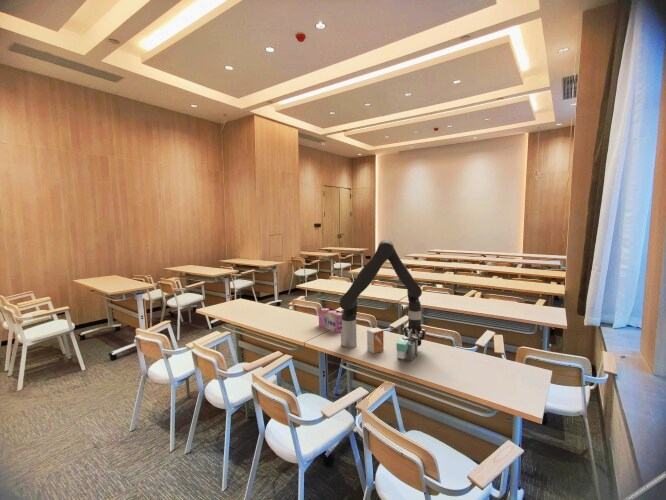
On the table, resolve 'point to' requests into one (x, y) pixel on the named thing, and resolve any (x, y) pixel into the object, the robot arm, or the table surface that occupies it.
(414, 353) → the bearing blocks
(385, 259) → the robot arm
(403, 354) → the shaft
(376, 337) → the small box
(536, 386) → the table surface
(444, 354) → the table surface
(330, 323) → the gum box
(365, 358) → the table surface
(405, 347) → the block
